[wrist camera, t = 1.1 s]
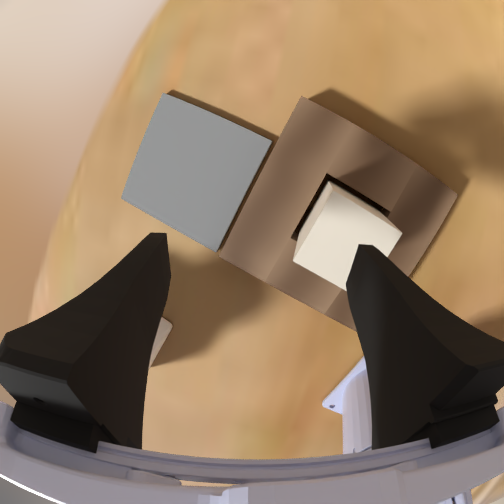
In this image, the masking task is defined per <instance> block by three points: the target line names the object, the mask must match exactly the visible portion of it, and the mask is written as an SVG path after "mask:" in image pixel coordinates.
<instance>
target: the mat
mask: <svg viewBox="0 0 504 504" xmlns="http://www.w3.org/2000/svg"><path fill="white" fill-rule="evenodd" d="M272 142H273V141H271V140H269V139H267V138H265V137H263V136H261V135H259V134H257V133H255V132H253V131H251V130H249V129H246V128H244V127H242V126H240V125H238V124H236V123H234V122H231V121H229V120H227V119H225V118H223V117H220V116H218V115H216V114H214V113H211V112H209V111H207V110H204V109H202V108H200V107H197V106H195V105H193V104H190V103H188V102H185V101H183V100H180V99H178V98H176V97H173V96H170V95H168V94H165V93H163V94H162V96H161V98H160V100H159V103H158V105H157V107H156V109H155V111H154V114H153V116H152V118H151V121H150V123H149V125H148V128H147V130H146V132H145V135H144V137H143V140H142V142H141V145H140V147H139V150H138V152H137V155H136V158H135V160H134V163H133V166H132V168H131V171H130V174H129V177H128V179H127V182H126V185H125V188H124V191H123V194H122V197H121V199H123V200H125V201H126V202H128V203H130V204H132V205H133V206H135V207H137V208H139V209H140V210H142V211H144V212H145V213H147V214H149V215H151V216H152V217H154V218H156V219H158V220H159V221H161V222H163V223H165V224H166V225H168V226H170V227H172V228H173V229H175V230H177V231H179V232H181V233H182V234H184V235H186V236H188V237H189V238H191V239H193V240H195V241H196V242H198V243H200V244H202V245H204V246H205V247H207V248H209V249H211V250H212V251H214V252H217V251H218V249H219V247H220V245H221V243H222V241H223V239H224V237H225V235H226V233H227V231H228V229H229V227H230V225H231V223H232V221H233V219H234V217H235V215H236V213H237V211H238V209H239V207H240V205H241V203H242V201H243V199H244V197H245V195H246V193H247V191H248V189H249V187H250V185H251V183H252V181H253V179H254V177H255V175H256V173H257V171H258V169H259V168H260V166H261V164H262V162H263V160H264V158H265V156H266V154H267V152H268V150H269V148H270V146H271V144H272Z"/></svg>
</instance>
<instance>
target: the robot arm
mask: <svg viewBox="0 0 504 504" xmlns="http://www.w3.org/2000/svg"><path fill="white" fill-rule="evenodd" d="M170 279H171V271H170V263H169V253H168V244H167V233H150V234H149V235H147V236H146V237H145V238H144V239H143V240H142V241H141V242H140V243H139V244H138V245H137V246H136V247H135V248H134V249H133V250H132V251H131V252H130V253H129V254H128V255H127V256H125V257H124V258H123V259H122V260H121V261H120V262H119V263H118V264H117V265H116V266H115V267H113V268H112V269H111V270H110V271H109V272H108V273H106V274H105V275H104V276H103V277H102V278H101V279H99V280H98V281H97V282H96V283H94V284H93V285H92V286H91V287H89V288H88V289H86V290H85V291H84V292H82V293H81V294H80V295H78V296H77V297H75V298H73V299H72V300H70V301H69V302H67V303H65V304H64V305H62V306H61V307H59V308H58V309H56V310H54V311H52V312H50V313H49V314H47V315H45V316H43V317H41V318H39V319H37V320H35V321H33V322H31V323H29V324H27V325H25V326H22V327H20V328H17V329H15V330H13V331H10V332H7V333H6V334H5V336H4V338H3V340H2V342H1V344H0V384H1V385H2V386H3V387H4V388H5V389H6V390H7V391H8V392H9V394H10V395H11V396H12V397H13V398H14V399H15V400H16V401H17V402H16V404H15V407H14V408H13V407H11V406H10V405H8V404H6V403H4V402H2V401H0V476H1V477H3V478H5V479H6V480H8V481H10V482H12V483H14V484H16V485H18V486H20V487H22V488H24V489H26V490H28V491H31V492H33V493H35V494H37V495H40V496H42V497H44V498H47V499H49V500H52V501H54V502H57V503H59V504H473V503H472V495H471V490H470V489H472V488H475V487H477V486H479V485H481V484H483V483H485V482H487V481H488V480H490V479H492V478H494V477H496V476H498V475H500V474H501V473H503V472H504V407H502V408H500V409H498V410H497V411H496V409H495V407H494V404H496V403H497V402H498V399H497V397H496V393H497V392H498V391H499V390H500V389H501V388H502V387H503V386H504V342H503V341H501V340H499V339H496V338H494V337H492V336H490V335H488V334H486V333H484V332H482V331H481V330H479V329H477V328H475V327H473V326H472V325H470V324H468V323H467V322H465V321H464V320H462V319H461V318H459V317H458V316H456V315H454V314H453V313H452V312H450V311H449V310H447V309H446V308H445V307H443V306H442V305H441V304H439V303H438V302H437V301H436V300H434V299H433V298H432V297H431V296H429V295H428V294H427V293H426V292H425V291H423V290H422V289H421V288H420V287H419V286H418V285H417V284H415V283H414V282H413V281H412V280H411V279H410V278H409V277H408V276H407V275H406V274H405V273H403V272H402V271H401V270H400V269H399V268H398V267H397V266H396V265H395V264H394V263H393V262H392V261H391V260H390V259H389V258H388V257H386V256H385V255H384V254H383V253H382V252H381V251H380V250H379V249H377V248H376V247H375V246H374V245H365V244H359V245H358V248H357V251H356V254H355V257H354V261H353V264H352V267H351V270H350V273H349V276H348V278H347V281H346V290H347V296H348V302H349V307H350V310H351V314H352V317H353V320H354V323H355V327H356V330H357V333H358V337H359V340H360V343H361V347H362V350H363V354H364V356H363V357H362V359H361V360H360V361H359V362H358V363H357V364H356V366H355V367H354V368H353V369H352V370H351V371H350V372H349V373H348V375H347V376H346V377H345V378H344V379H343V380H342V381H341V382H340V383H339V384H338V385H337V387H336V388H335V389H334V390H333V391H332V392H331V393H330V394H329V395H328V396H327V397H326V398H325V399H324V400H323V407H325V408H327V409H330V410H332V411H335V412H337V413H340V414H342V415H343V454H342V455H333V456H323V457H311V458H296V459H266V460H251V459H220V458H205V457H193V456H184V455H175V454H167V453H160V452H153V451H147V450H142V428H143V413H144V401H145V392H146V384H147V376H148V369H149V363H150V357H151V352H152V348H153V344H154V341H155V337H156V334H157V331H158V327H159V324H160V321H161V317H162V314H163V311H164V307H165V304H166V301H167V296H168V291H169V285H170ZM175 479H177V480H175ZM179 480H186V481H196V482H208V483H225V484H239V485H233V486H230V487H206V486H182V485H181V482H180V481H179ZM452 501H453V502H452Z"/></svg>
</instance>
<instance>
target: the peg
mask: <svg viewBox="0 0 504 504" xmlns="http://www.w3.org/2000/svg"><path fill="white" fill-rule="evenodd" d="M401 235H402V232H401V231H400V230H399V229H398V228H397V227H396V226H395V225H394V224H393V223H392V222H390V221H389V220H388V219H387V218H386V217H385V216H384V215H383V214H382V213H381V212H380V211H379V210H378V209H377V208H375V207H374V206H372V205H370V204H369V203H367V202H365V201H364V200H362V199H361V198H359V197H357V196H356V195H354V194H352V193H351V192H349V191H347V190H346V189H344V188H342V187H340V186H339V185H337V184H335V183H334V182H332V181H330V180H327V182H326V183H325V185H324V187H323V189H322V191H321V192H320V194H319V196H318V198H317V200H316V201H315V203H314V205H313V207H312V208H311V210H310V212H309V214H308V215H307V217H306V219H305V221H304V222H303V224H302V226H301V228H300V231H299V236H298V240H297V245H296V249H295V253H294V258H293V261H294V262H295V263H297V264H299V265H301V266H303V267H304V268H306V269H308V270H310V271H312V272H313V273H315V274H317V275H319V276H320V277H322V278H324V279H326V280H328V281H329V282H331V283H333V284H335V285H337V286H338V287H340V288H342V289H344V290H345V291H347V290H346V281H347V278H348V276H349V273H350V270H351V267H352V264H353V261H354V257H355V254H356V251H357V248H358V245H359V244H365V245H374V246H375V247H376V248H377V249H379V250H380V251H381V252H382V253H383V254H384V255H385V256H386V257H388V255H389V254H390V252H391V251H392V249H393V248H394V246H395V244H396V243H397V241H398V240H399V238H400V236H401Z"/></svg>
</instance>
